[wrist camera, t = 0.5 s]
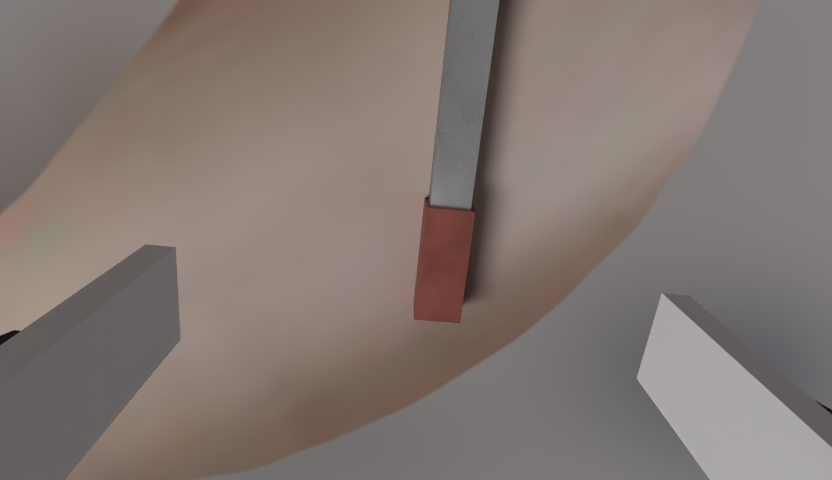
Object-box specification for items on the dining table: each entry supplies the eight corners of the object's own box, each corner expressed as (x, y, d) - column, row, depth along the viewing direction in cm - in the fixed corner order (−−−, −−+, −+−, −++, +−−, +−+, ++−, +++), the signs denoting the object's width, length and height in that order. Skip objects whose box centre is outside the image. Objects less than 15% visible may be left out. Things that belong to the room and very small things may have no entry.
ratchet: (431, -125, 32) (439, -184, 25) (540, -112, 32) (580, -166, 25) (393, 301, 42) (389, 353, 34) (477, 308, 42) (492, 361, 34)
